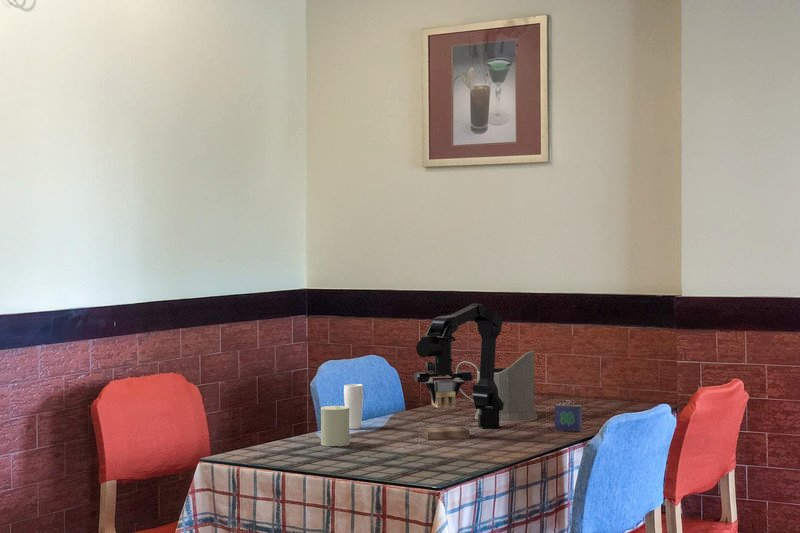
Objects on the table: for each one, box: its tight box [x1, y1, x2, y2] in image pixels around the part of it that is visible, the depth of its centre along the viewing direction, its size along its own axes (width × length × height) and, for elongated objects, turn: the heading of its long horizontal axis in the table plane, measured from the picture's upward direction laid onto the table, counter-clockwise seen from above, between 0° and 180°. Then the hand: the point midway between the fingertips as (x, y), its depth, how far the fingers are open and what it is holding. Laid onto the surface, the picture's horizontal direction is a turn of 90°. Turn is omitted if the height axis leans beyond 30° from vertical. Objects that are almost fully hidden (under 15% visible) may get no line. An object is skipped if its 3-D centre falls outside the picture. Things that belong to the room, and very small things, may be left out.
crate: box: [433, 380, 453, 392], centre depth 326 cm, size 5×5×3 cm
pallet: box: [431, 391, 456, 409], centre depth 326 cm, size 6×8×5 cm
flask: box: [554, 399, 583, 433], centre depth 334 cm, size 9×3×11 cm, turn 68°
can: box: [320, 405, 351, 447], centre depth 313 cm, size 9×9×12 cm
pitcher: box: [455, 350, 538, 423], centre depth 370 cm, size 23×32×25 cm
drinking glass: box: [343, 383, 364, 430], centre depth 344 cm, size 7×7×15 cm
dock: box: [420, 425, 471, 441], centre depth 325 cm, size 14×9×2 cm, turn 103°
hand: (443, 402), depth 326 cm, fingers closed on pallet, 6 cm apart
